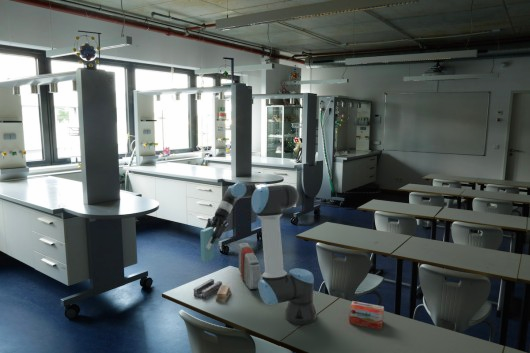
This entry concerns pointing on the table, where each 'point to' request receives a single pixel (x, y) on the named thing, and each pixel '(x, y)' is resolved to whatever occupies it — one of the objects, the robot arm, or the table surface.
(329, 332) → the table surface
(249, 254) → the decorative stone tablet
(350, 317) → the medicine box
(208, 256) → the teal board
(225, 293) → the block
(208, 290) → the board rack
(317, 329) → the table surface
